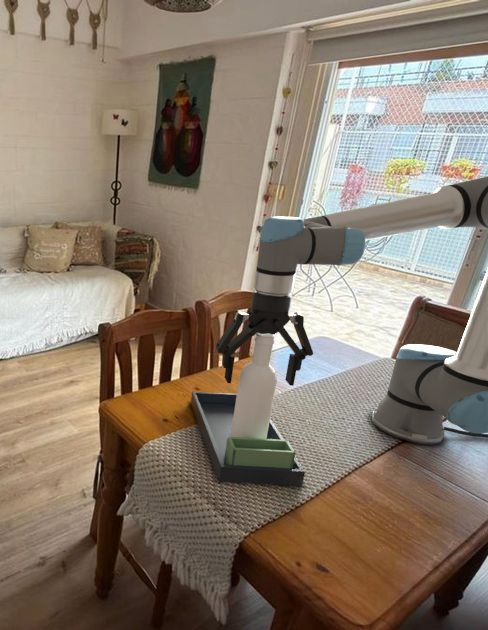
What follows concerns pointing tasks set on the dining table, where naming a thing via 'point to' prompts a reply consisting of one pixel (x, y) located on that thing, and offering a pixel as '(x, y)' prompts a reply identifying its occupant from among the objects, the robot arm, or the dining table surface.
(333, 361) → the dining table surface
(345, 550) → the dining table surface
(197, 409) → the tray
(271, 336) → the bottle
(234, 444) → the green open box
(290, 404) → the dining table surface
